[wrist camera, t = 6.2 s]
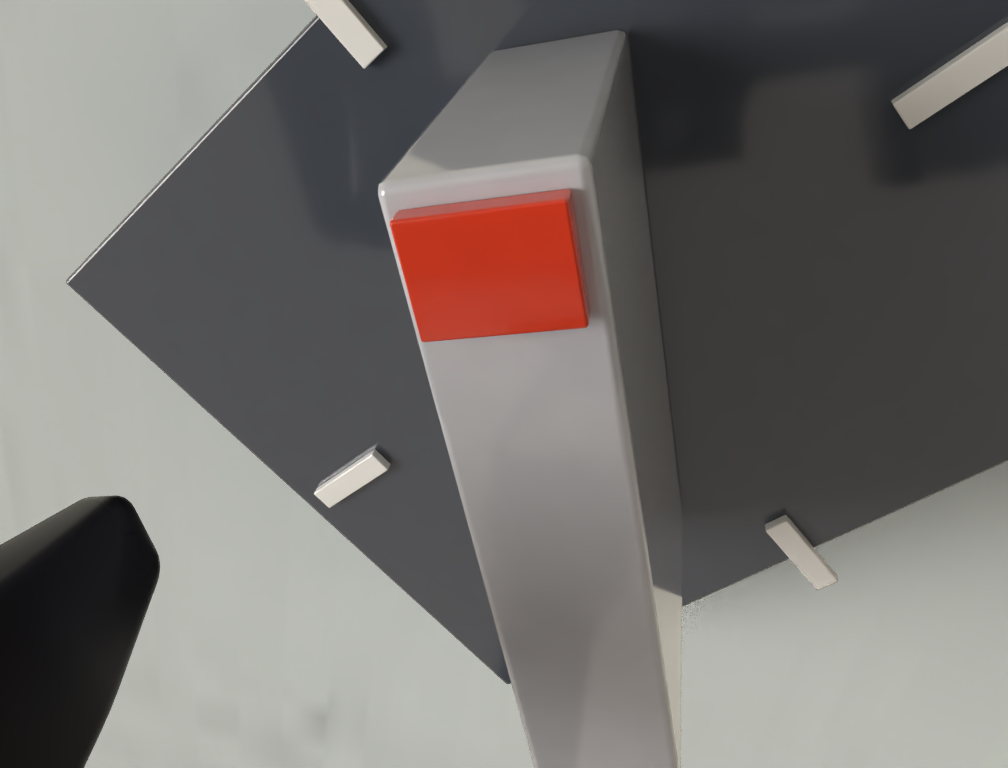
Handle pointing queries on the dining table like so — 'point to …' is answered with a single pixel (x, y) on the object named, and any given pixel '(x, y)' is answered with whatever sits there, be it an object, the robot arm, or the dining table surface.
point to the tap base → (676, 258)
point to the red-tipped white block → (554, 388)
